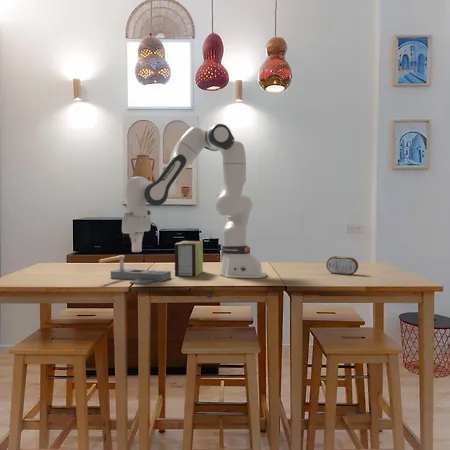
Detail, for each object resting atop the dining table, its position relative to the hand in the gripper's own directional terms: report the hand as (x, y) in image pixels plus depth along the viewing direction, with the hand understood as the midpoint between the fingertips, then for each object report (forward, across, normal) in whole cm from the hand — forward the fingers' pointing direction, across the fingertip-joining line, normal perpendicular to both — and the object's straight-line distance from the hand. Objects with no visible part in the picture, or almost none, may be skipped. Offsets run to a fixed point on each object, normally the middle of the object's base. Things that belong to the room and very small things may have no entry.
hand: (136, 242), depth 199 cm
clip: (+8, -7, +8) cm, 13 cm away
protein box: (+17, +19, -18) cm, 31 cm away
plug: (+4, 0, 0) cm, 4 cm away
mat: (+17, -9, -8) cm, 20 cm away
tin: (+18, +42, -89) cm, 100 cm away
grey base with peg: (+17, 0, -2) cm, 17 cm away
